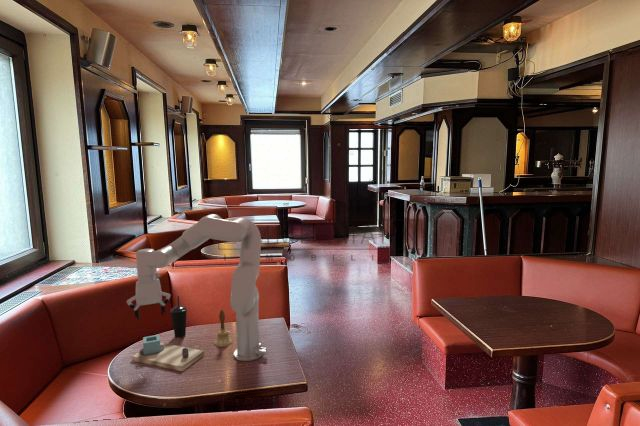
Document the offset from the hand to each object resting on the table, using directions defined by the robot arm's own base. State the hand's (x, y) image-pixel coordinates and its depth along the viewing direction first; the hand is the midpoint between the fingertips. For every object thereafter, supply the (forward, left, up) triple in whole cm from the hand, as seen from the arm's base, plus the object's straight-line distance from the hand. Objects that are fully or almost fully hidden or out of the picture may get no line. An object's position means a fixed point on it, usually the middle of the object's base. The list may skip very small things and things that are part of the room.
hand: (150, 316), depth 162 cm
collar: (0, 0, -15) cm, 15 cm away
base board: (-9, 0, -18) cm, 20 cm away
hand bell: (-23, -20, -18) cm, 35 cm away
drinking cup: (+1, -19, -18) cm, 26 cm away
